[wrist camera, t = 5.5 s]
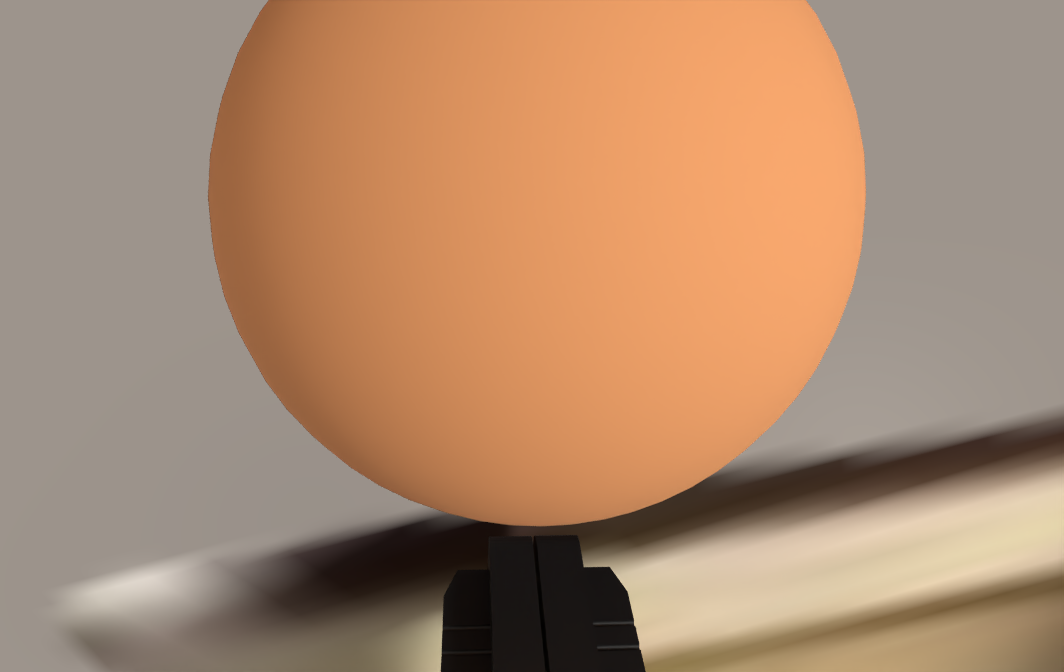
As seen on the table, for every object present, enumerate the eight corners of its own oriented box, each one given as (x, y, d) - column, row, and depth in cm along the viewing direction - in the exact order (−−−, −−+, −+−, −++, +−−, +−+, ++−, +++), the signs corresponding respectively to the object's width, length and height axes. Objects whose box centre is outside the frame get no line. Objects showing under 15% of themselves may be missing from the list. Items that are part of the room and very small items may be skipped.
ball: (783, -111, 9) (1237, -130, 4) (698, 331, 12) (879, 665, 7) (260, -147, 8) (-87, -229, 3) (309, 326, 11) (176, 689, 6)
